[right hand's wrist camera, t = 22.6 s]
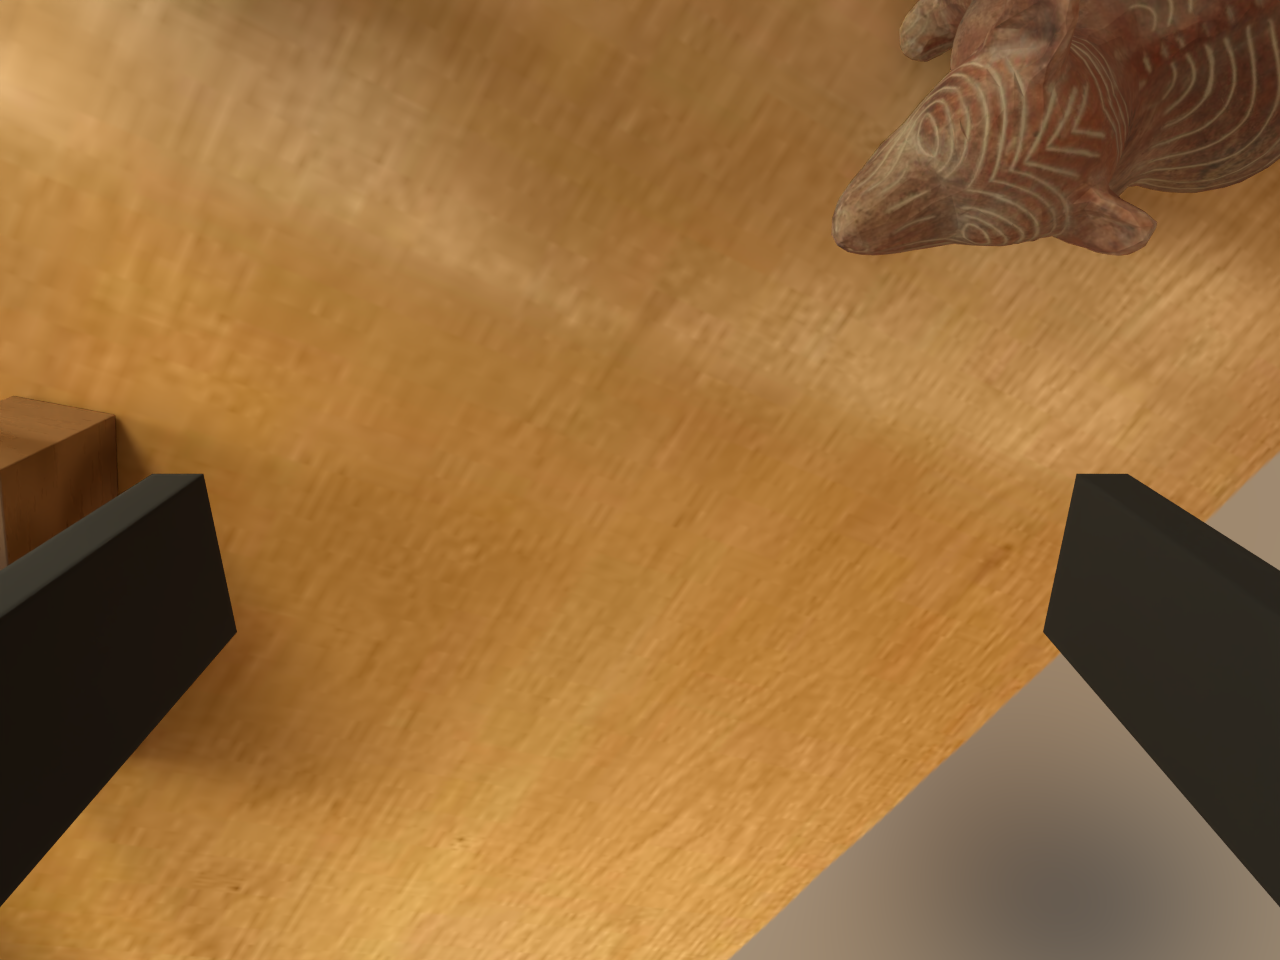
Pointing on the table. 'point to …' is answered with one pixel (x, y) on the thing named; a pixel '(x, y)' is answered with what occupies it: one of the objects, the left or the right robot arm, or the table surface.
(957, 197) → the sculpture
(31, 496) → the bar
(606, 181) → the table surface
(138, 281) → the table surface
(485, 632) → the table surface
